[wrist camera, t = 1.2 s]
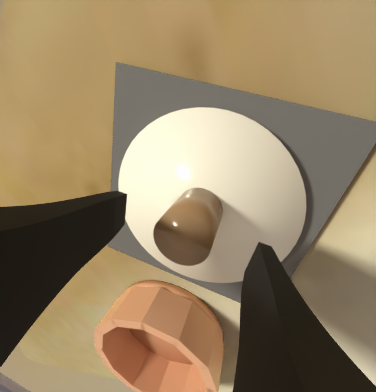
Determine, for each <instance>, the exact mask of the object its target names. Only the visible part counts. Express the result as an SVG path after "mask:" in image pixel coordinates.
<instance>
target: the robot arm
mask: <svg viewBox="0 0 376 392" xmlns="http://www.w3.org/2000/svg"><path fill="white" fill-rule="evenodd" d="M126 203H127V194H125V193H123V192H120V191H111V192H105V193H100V194H95V195H91V196H86V197H81V198H76V199H70V200H65V201H59V202H53V203H46V204H37V205H27V206H11V207H0V367H1V366H2V365H3V363H4V362H5V360H6V359H7V358H8V356H9V355H10V354H11V352H12V351H13V350H14V348H15V347H16V345H17V344H18V343H19V342H20V340H21V339H22V338H23V336H24V335H25V334H26V332H27V331H28V330H29V328H30V327H31V326H32V325H33V323H34V322H35V321H36V320H37V318H38V317H39V316H40V315H41V313H42V312H43V311H44V310H45V308H46V307H47V306H48V305H49V304H50V302H51V301H52V300H53V299H54V298H55V297H56V295H57V294H58V293H59V292H60V291H61V289H62V288H63V287H64V286H65V285H66V284H67V283H68V282H69V281H70V279H71V278H72V277H73V276H74V275H75V274H76V273H77V272H78V271H79V270H80V269H81V268H82V267H83V266H84V265H85V264H86V263H87V262H88V261H89V260H91V259H92V258H93V257H94V256H95V255H96V254H97V253H98V252H99V251H100V250H101V249H103V248H104V247H105V246H106V245H107V244H108V243H109V242H110V241H111V240H112V239H113V238H114V237H115V236H116V235H117V234H118V232H119V231H120V230H121V229H122V227H123V226H124V225H125V215H126ZM0 392H30V391H29V390H27V389H25V388H24V387H22V386H21V385H19V384H17V383H16V382H14V381H12V380H11V379H9V378H8V377H6V376H5V375H3V374H1V373H0ZM233 392H376V386H375V385H374V384H373V383H372V382H371V381H370V380H369V379H368V378H367V377H366V376H365V375H364V373H363V372H362V371H361V370H360V369H359V368H358V367H357V366H356V365H355V364H354V363H353V361H352V360H351V359H350V358H349V357H348V356H347V354H346V353H345V352H344V351H343V350H342V349H341V348H340V346H339V345H338V344H337V343H336V342H335V341H334V339H333V338H332V337H331V336H330V334H329V333H328V332H327V331H326V329H325V328H324V327H323V326H322V324H321V323H320V322H319V320H318V319H317V318H316V316H315V315H314V314H313V312H312V311H311V310H310V308H309V307H308V306H307V304H306V303H305V301H304V300H303V298H302V297H301V295H300V294H299V292H298V291H297V289H296V287H295V286H294V284H293V283H292V281H291V279H290V278H289V276H288V274H287V273H286V271H285V269H284V267H283V266H282V264H281V262H280V260H279V259H278V257H277V255H276V253H275V251H274V250H273V248H272V246H269V245H266V244H264V243H261V242H258V244H257V247H256V249H255V251H254V253H253V255H252V257H251V259H250V261H249V263H248V265H247V267H246V269H245V272H244V277H243V283H242V289H241V309H240V338H239V351H238V359H237V366H236V374H235V381H234V388H233Z"/></svg>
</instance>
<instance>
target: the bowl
mask: <svg viewBox="0 0 376 392" xmlns="http://www.w3.org/2000/svg"><path fill="white" fill-rule="evenodd" d="M223 339H224V338H223V331H222V327H221V325H220V322H219V321H218V319H217V317H216V316H215V314H214V313H213V312H212V310H211V309H210V308H209V307H208V306H207V305H206V304H205V303H204V302H202V301H201V300H200V299H199V298H197V297H196V296H195V295H193V294H191V293H190V292H188V291H186V290H184V289H182V288H180V287H178V286H175V285H173V284H170V283H166V282H161V281H153V280H148V281H140V282H137V283H134V284H133V285H131V286H129V287H128V288H127V289H126V291H125V292H124V293H123V295H121V296H120V297H118V298H117V300H116V301H115V303H114V304H113V305H112V307H111V308H110V309H109V311H108V312H107V313H106V315H105V316H104V317H103V319H102V320H101V321H100V323H99V324H98V326H97V327H96V328H95V349H96V350H97V352H98V354H99V355H100V357H101V359H102V360H103V362H104V363H105V365H106V367H107V368H108V369H109V370H110V371H111V372H112V373H113V374H114V375H115V376H116V377H118V378H119V379H120V380H121V381H122V382H123V383H124V384H126V385H127V386H128V387H129V388H130V389H132V390H134V391H135V392H218V389H219V382H220V375H221V369H222V362H223V355H224V346H223Z"/></svg>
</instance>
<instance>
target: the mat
mask: <svg viewBox="0 0 376 392" xmlns="http://www.w3.org/2000/svg"><path fill="white" fill-rule="evenodd" d="M196 107H207V108H219V109H225V110H230V111H233V112H236V113H239V114H242V115H244V116H246V117H248V118H250V119H252V120H254V121H256V122H258V123H259V124H261V125H262V126H264V127H265V128H266V129H268V130H269V131H270V132H271V133H272V134H273V135H275V136H276V137H277V138H278V139H279V140H280V141H281V143H282V144H283V145H284V146H285V148H286V149H287V150H288V151H289V153H290V154H291V156H292V158H293V160H294V161H295V163H296V165H297V167H298V169H299V172H300V174H301V177H302V180H303V183H304V188H305V193H306V216H305V222H304V225H303V229H302V232H301V235H300V237H299V239H298V241H297V243H296V245H295V246H294V247H293V249H292V250H291V252H290V253H289V254H288V255H287V256H286V257H285V258H284V259H283V261H282V262H281V264H282V266H283V267H284V269H285V271H286V273H287V274H288V276H289V278H290V277H291V275H292V274H293V272H294V271H295V269H296V267H297V266H298V264H299V263H300V261H301V260H302V258H303V257H304V255H305V253H306V252H307V250H308V249H309V247H310V246H311V244H312V242H313V241H314V239H315V238H316V236H317V235H318V233H319V231H320V230H321V228H322V227H323V225H324V224H325V222H326V220H327V219H328V217H329V216H330V214H331V213H332V211H333V209H334V208H335V206H336V205H337V203H338V202H339V200H340V198H341V197H342V195H343V194H344V192H345V191H346V189H347V187H348V186H349V184H350V183H351V181H352V180H353V178H354V176H355V175H356V173H357V172H358V170H359V169H360V167H361V165H362V164H363V162H364V161H365V159H366V158H367V156H368V154H369V153H370V151H371V150H372V148H373V147H374V145H375V143H376V122H374V121H370V120H366V119H361V118H357V117H353V116H348V115H344V114H339V113H335V112H331V111H326V110H322V109H318V108H313V107H309V106H305V105H300V104H296V103H292V102H287V101H283V100H279V99H274V98H270V97H266V96H261V95H257V94H252V93H248V92H244V91H239V90H235V89H231V88H226V87H222V86H218V85H213V84H209V83H205V82H200V81H196V80H192V79H187V78H183V77H179V76H174V75H170V74H165V73H161V72H157V71H152V70H148V69H144V68H139V67H135V66H131V65H126V64H122V63H118V62H116V73H115V97H114V121H113V145H112V169H111V191H119V189H118V181H119V172H120V168H121V164H122V160H123V158H124V155H125V153H126V151H127V149H128V147H129V146H130V144H131V142H132V141H133V140H134V138H135V137H136V136H137V135H138V134H139V132H141V131H142V130H143V129H144V128H145V127H146V126H147V125H149V124H150V123H152V122H153V121H155V120H156V119H158V118H160V117H162V116H164V115H166V114H168V113H171V112H175V111H178V110H182V109H188V108H196ZM108 247H110V248H113V249H115V250H117V251H120V252H122V253H124V254H127V255H129V256H131V257H134V258H136V259H139V260H141V261H143V262H146V263H148V264H150V265H153V266H155V267H157V268H160V269H162V270H164V271H167V272H169V273H171V274H174V275H176V276H178V277H181V278H183V279H185V280H188V281H190V282H192V283H195V284H197V285H199V286H202V287H204V288H206V289H209V290H211V291H213V292H216V293H218V294H220V295H223V296H225V297H227V298H230V299H232V300H234V301H237V302H239V303H241V289H242V283H243V281H239V282H233V283H213V282H206V281H200V280H196V279H193V278H190V277H187V276H184V275H181V274H179V273H177V272H175V271H173V270H171V269H170V268H168V267H166V266H165V265H163V264H162V263H160V262H159V261H158V260H156V259H155V258H154V257H153V256H152V255H151V254H149V253H148V252H147V251H146V250H145V249H144V247H143V246H142V245H141V244H140V243H139V241H138V240H137V239H136V238H135V236H134V234H133V233H132V231H131V230H130V228H129V226H128V224H127V222H126V220H125V225H124V226H123V227H122V229H121V230H120V231H119V232H118V234H117V235H116V236H115V237H114V238H113V239H112V240H111V241H110V242H109V243H108Z"/></svg>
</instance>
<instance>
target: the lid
mask: <svg viewBox="0 0 376 392" xmlns="http://www.w3.org/2000/svg"><path fill="white" fill-rule="evenodd" d="M118 189H119V191H120V192H123V193H125V194H127V203H126V215H125V220H126V222H127V224H128V226H129V228H130V230H131V231H132V233H133V234H134V236H135V238H136V239H137V240H138V241H139V243H140V244H141V245H142V246H143V247H144V249H145V250H146V251H147V252H148V253H149V254H151V255H152V256H153V257H154V258H155V259H156V260H158V261H159V262H160V263H162V264H163V265H165V266H166V267H168V268H170V269H171V270H173V271H175V272H177V273H179V274H181V275H184V276H187V277H190V278H193V279H196V280H200V281H206V282H213V283H233V282H239V281H243V277H244V272H245V269H246V267H247V265H248V263H249V261H250V259H251V257H252V255H253V253H254V251H255V249H256V247H257V244H258V242H261V243H264V244H266V245H269V246H272V248H273V250H274V251H275V253H276V255H277V257H278V259H279V260H280V262H282V261H283V259H284V258H285V257H286V256H287V255H288V254H289V253H290V252H291V250H292V249H293V247H294V246H295V245H296V243H297V241H298V239H299V237H300V235H301V232H302V229H303V225H304V222H305V216H306V193H305V188H304V183H303V180H302V177H301V174H300V172H299V169H298V167H297V165H296V163H295V161H294V160H293V158H292V156H291V154H290V153H289V151H288V150H287V149H286V148H285V146H284V145H283V144H282V143H281V141H280V140H279V139H278V138H277V137H276V136H275V135H273V134H272V133H271V132H270V131H269V130H268V129H266V128H265V127H264V126H262V125H261V124H259V123H258V122H256V121H254V120H252V119H250V118H248V117H246V116H244V115H242V114H239V113H236V112H233V111H230V110H225V109H219V108H207V107H196V108H188V109H182V110H178V111H175V112H171V113H168V114H166V115H164V116H162V117H160V118H158V119H156V120H155V121H153V122H152V123H150V124H149V125H147V126H146V127H145V128H144V129H143V130H142V131H141V132H139V134H138V135H137V136H136V137H135V138H134V140H133V141H132V142H131V144H130V146H129V147H128V149H127V151H126V153H125V155H124V158H123V160H122V164H121V168H120V172H119V181H118Z"/></svg>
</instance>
